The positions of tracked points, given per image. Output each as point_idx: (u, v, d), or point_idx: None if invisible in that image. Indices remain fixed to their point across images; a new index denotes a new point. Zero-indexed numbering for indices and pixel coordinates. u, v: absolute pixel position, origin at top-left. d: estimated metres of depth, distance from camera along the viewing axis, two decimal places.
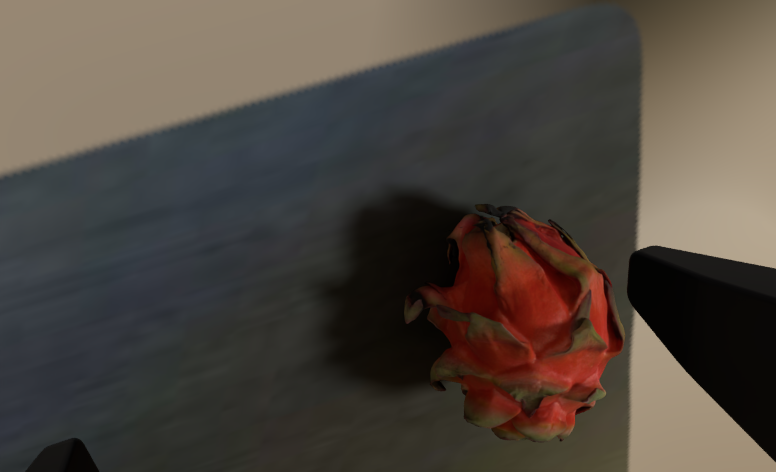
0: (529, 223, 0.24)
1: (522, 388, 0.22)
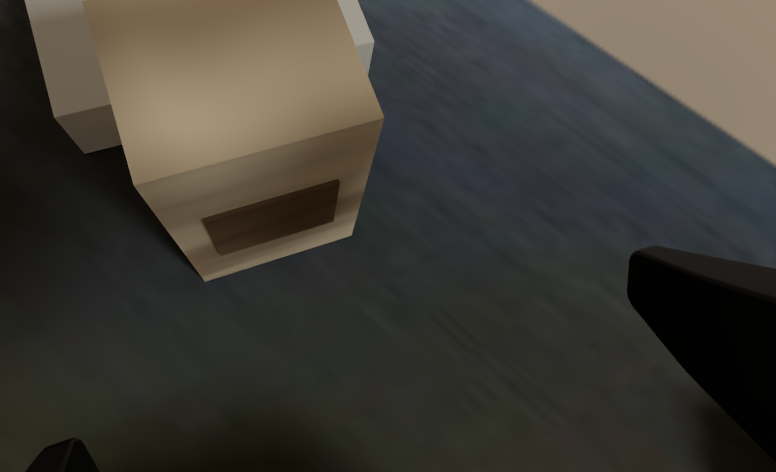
0: None
1: None
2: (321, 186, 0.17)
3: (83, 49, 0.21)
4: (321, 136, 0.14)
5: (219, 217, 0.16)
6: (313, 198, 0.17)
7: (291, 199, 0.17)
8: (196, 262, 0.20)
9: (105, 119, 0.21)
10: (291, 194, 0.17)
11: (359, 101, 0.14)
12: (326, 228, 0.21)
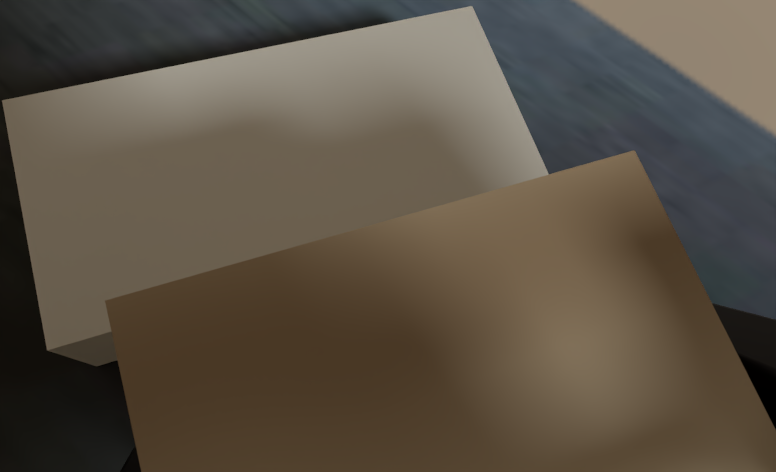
0: None
1: None
2: None
3: (101, 223, 0.13)
4: None
5: None
6: None
7: None
8: None
9: None
10: None
11: None
12: None
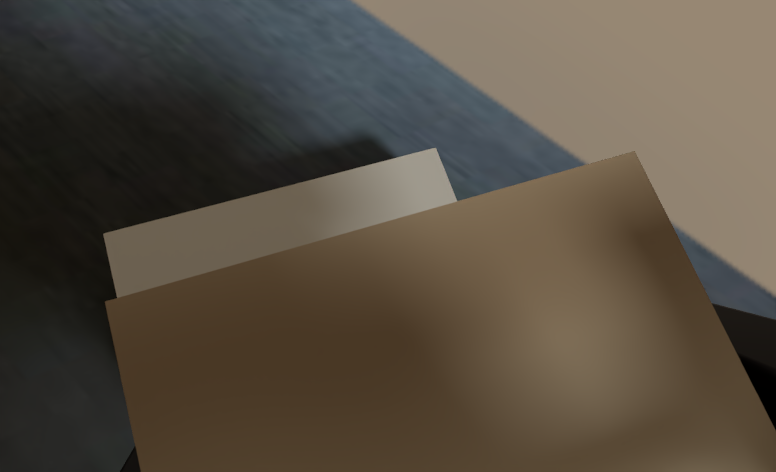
0: None
1: None
2: None
3: None
4: None
5: None
6: None
7: None
8: None
9: None
10: None
11: None
12: None
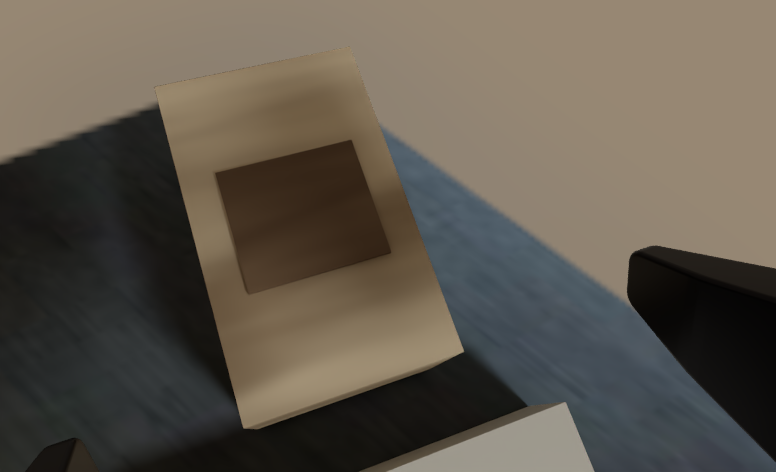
0: None
1: None
2: (333, 145, 0.17)
3: None
4: (301, 59, 0.18)
5: (231, 169, 0.16)
6: (332, 165, 0.17)
7: (304, 156, 0.17)
8: (220, 317, 0.15)
9: None
10: (304, 152, 0.17)
11: None
12: (398, 291, 0.16)
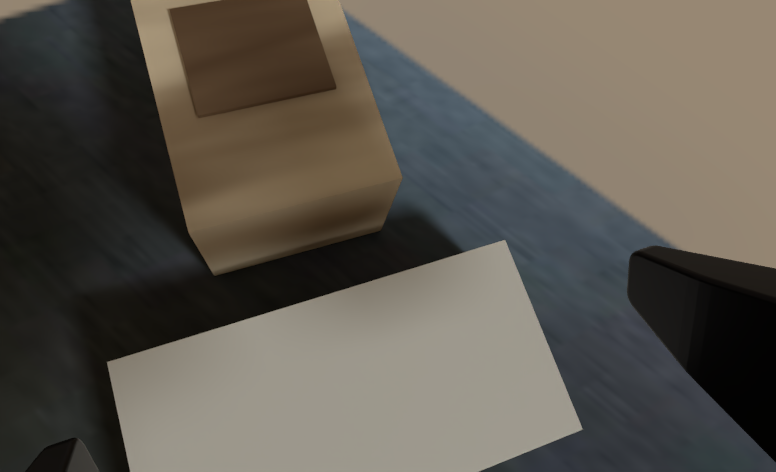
0: None
1: None
2: None
3: None
4: None
5: (185, 7, 0.17)
6: (282, 8, 0.17)
7: None
8: (170, 135, 0.16)
9: None
10: None
11: None
12: (341, 122, 0.17)
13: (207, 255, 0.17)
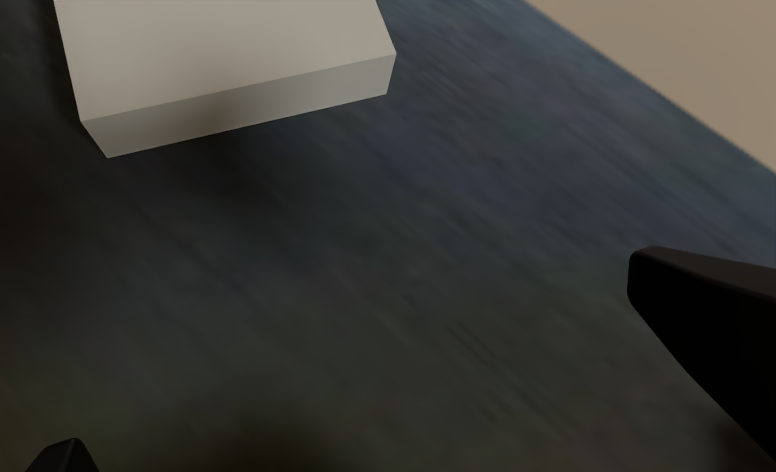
0: None
1: None
2: None
3: (111, 55, 0.21)
4: None
5: None
6: None
7: None
8: None
9: (130, 124, 0.22)
10: None
11: None
12: None
13: None
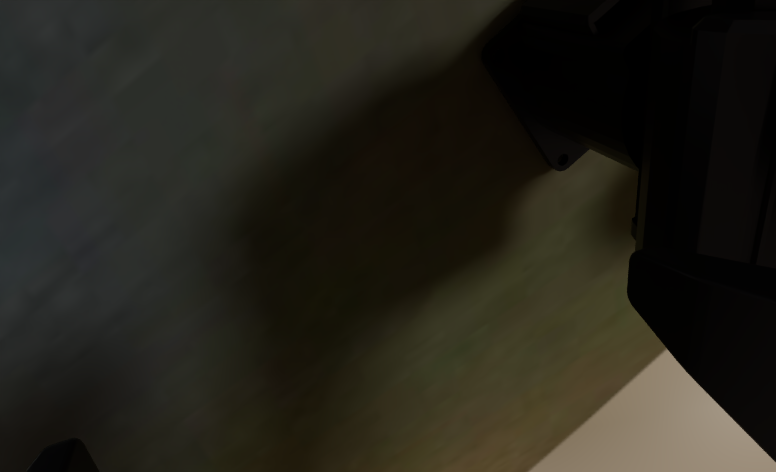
0: None
1: None
2: None
3: None
4: None
5: None
6: None
7: None
8: None
9: None
10: None
11: None
12: None
13: None
